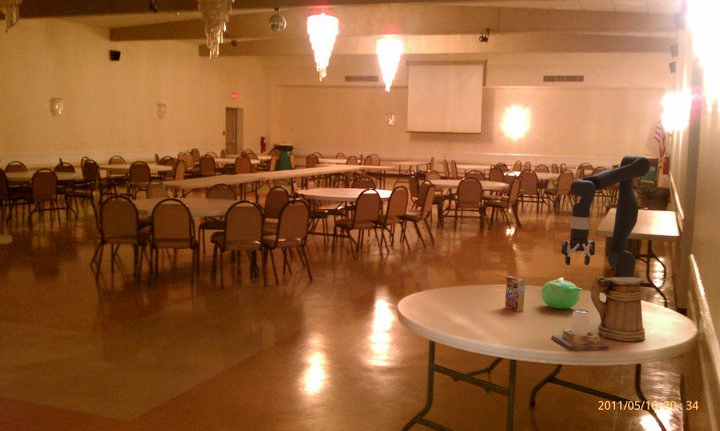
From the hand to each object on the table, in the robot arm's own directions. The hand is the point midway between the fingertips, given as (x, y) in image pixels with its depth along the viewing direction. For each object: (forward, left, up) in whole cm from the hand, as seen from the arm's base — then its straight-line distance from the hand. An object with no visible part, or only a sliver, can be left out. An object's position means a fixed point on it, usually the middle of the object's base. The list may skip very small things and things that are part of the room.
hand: (577, 264), depth 298 cm
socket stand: (+8, +21, -28) cm, 36 cm away
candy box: (+12, -34, -28) cm, 46 cm away
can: (+8, +21, -27) cm, 35 cm away
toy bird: (-12, -35, -28) cm, 47 cm away
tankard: (-14, +11, -28) cm, 34 cm away
